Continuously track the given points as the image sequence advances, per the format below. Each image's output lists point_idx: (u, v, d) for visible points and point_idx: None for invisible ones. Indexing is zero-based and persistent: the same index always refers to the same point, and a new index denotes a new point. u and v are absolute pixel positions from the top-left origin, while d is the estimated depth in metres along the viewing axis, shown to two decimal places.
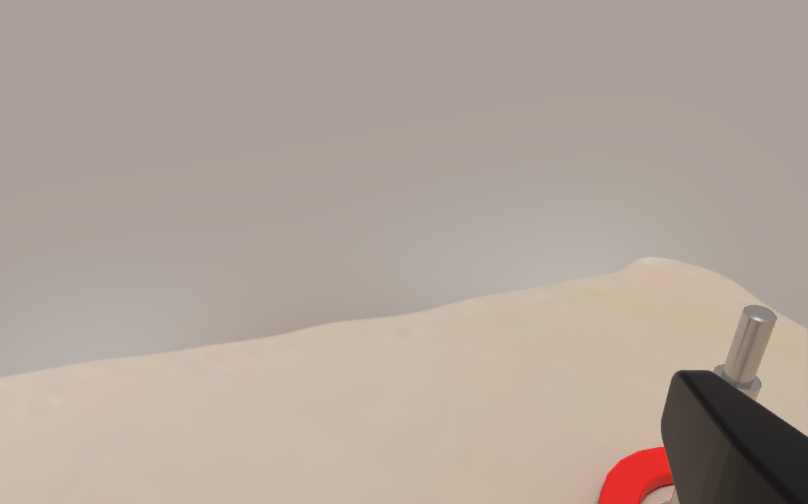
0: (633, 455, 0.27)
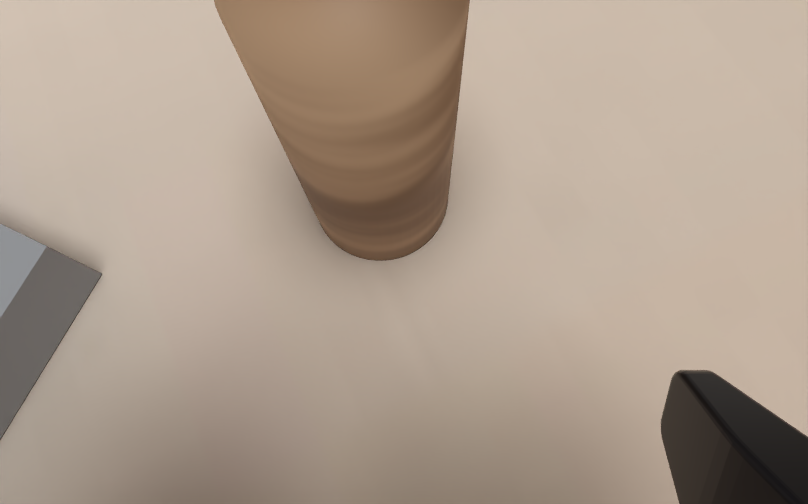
0: None
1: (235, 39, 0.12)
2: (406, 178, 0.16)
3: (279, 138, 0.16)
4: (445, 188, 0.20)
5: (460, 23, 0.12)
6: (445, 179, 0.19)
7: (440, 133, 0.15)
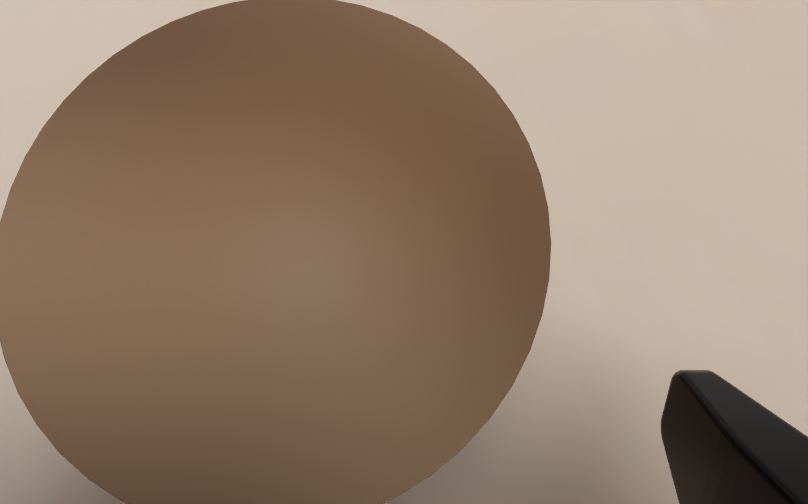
0: None
1: (30, 411, 0.05)
2: None
3: None
4: None
5: None
6: None
7: None
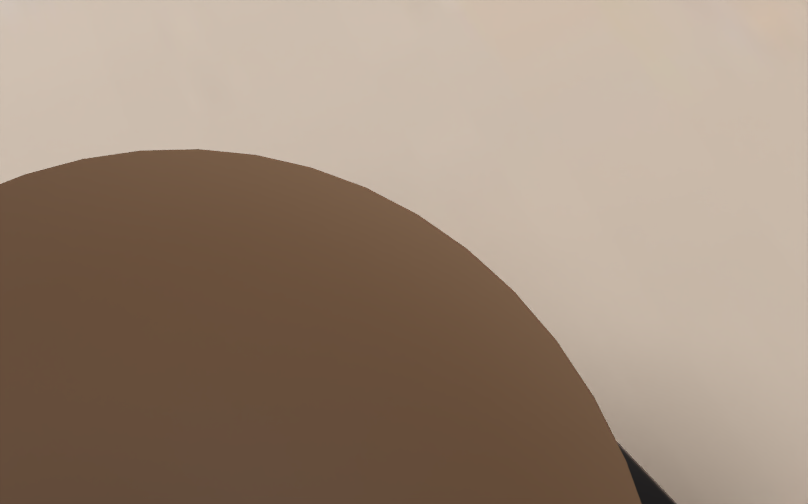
0: None
1: None
2: None
3: None
4: None
5: None
6: None
7: None
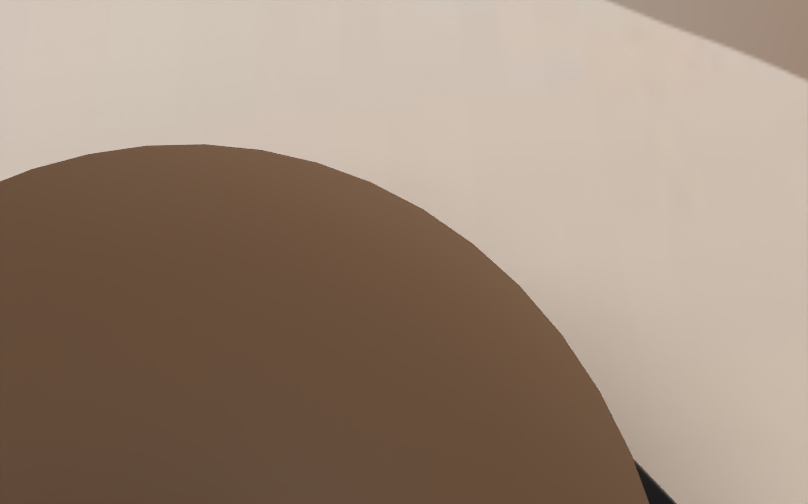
0: None
1: None
2: None
3: None
4: None
5: None
6: None
7: None
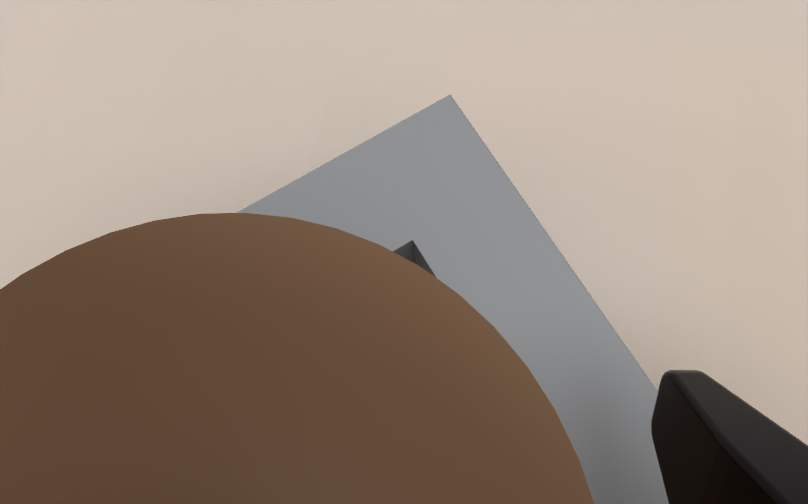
0: None
1: None
2: None
3: None
4: None
5: None
6: None
7: None
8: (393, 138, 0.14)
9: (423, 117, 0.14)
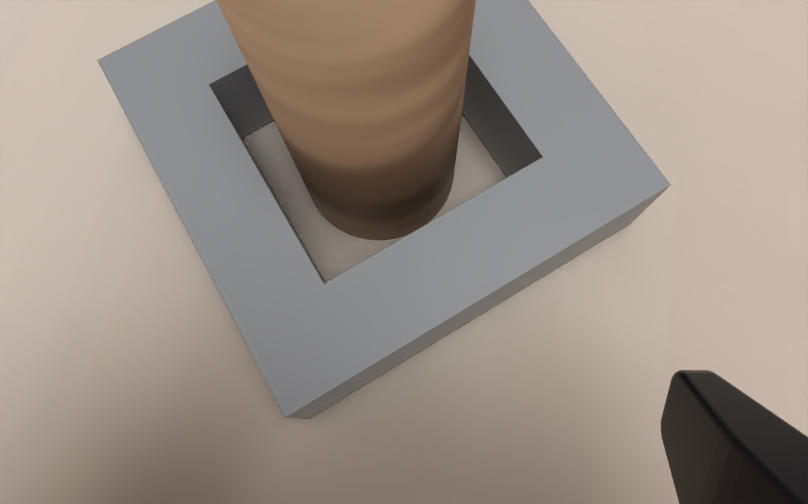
0: None
1: None
2: (408, 139, 0.14)
3: (261, 91, 0.14)
4: (452, 157, 0.18)
5: None
6: (452, 146, 0.17)
7: (448, 84, 0.13)
8: None
9: None
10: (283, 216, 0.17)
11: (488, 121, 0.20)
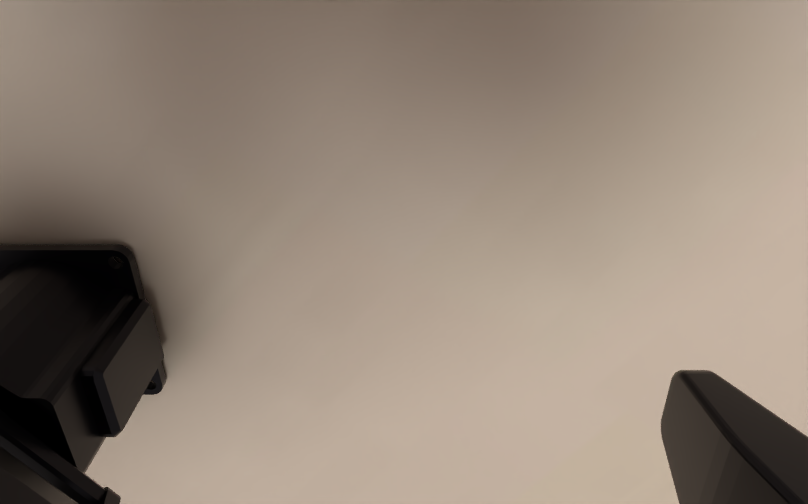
0: None
1: None
2: None
3: None
4: None
5: None
6: None
7: None
8: None
9: None
10: None
11: None
